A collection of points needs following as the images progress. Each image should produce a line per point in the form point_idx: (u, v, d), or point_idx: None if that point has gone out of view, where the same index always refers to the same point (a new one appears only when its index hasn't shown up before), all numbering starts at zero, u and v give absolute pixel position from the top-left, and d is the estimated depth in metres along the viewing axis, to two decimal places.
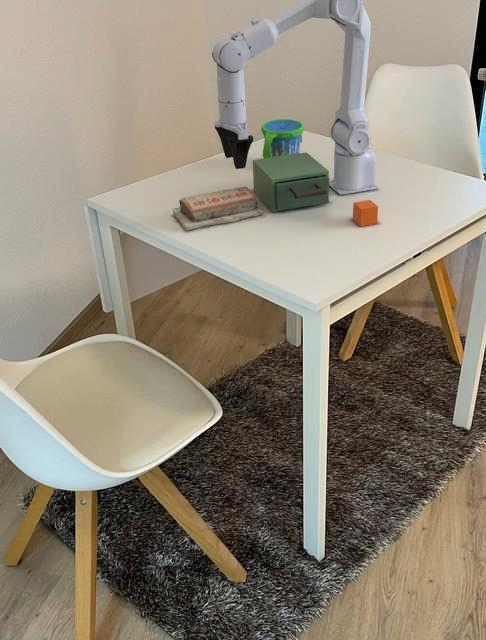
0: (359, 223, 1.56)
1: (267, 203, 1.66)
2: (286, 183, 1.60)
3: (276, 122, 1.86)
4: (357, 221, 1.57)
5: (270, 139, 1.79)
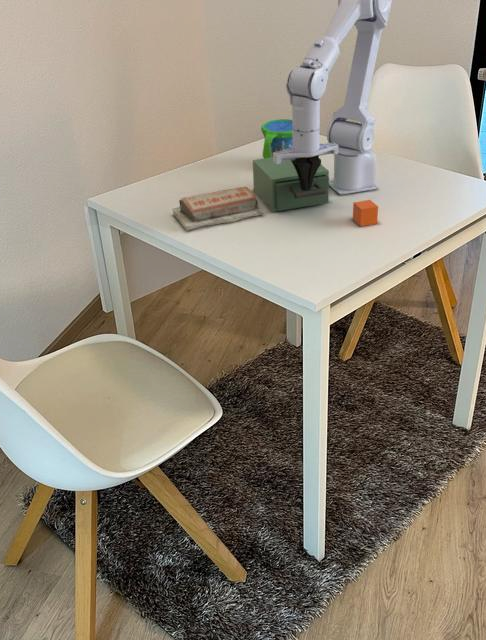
0: (359, 223, 1.56)
1: (267, 203, 1.66)
2: (286, 183, 1.60)
3: (276, 122, 1.86)
4: (357, 221, 1.57)
5: (270, 139, 1.79)
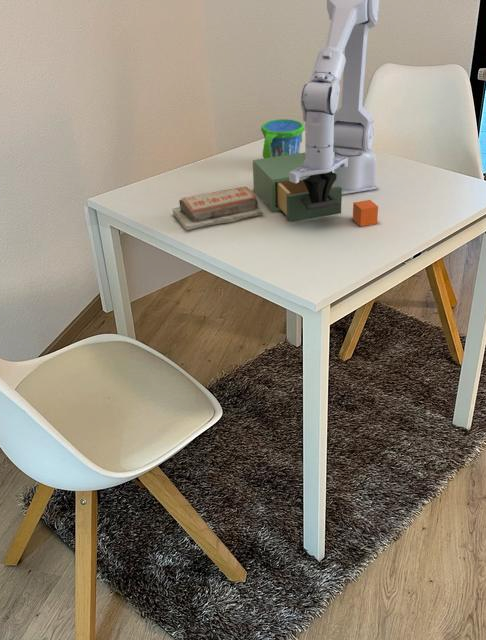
0: (359, 223, 1.56)
1: (267, 203, 1.66)
2: (297, 194, 1.54)
3: (276, 122, 1.86)
4: (357, 221, 1.57)
5: (270, 139, 1.79)
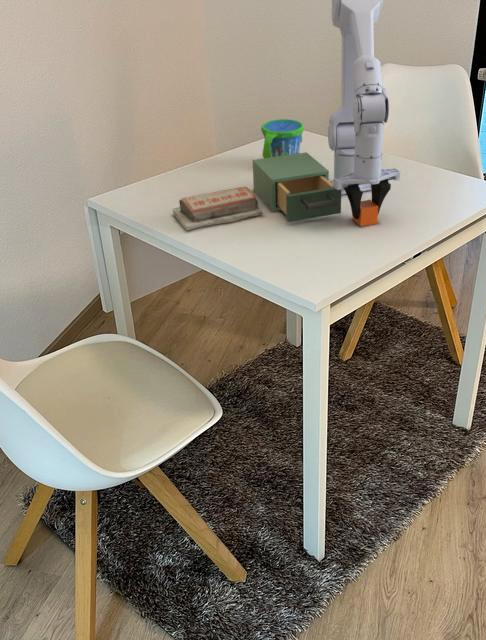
0: (359, 223, 1.56)
1: (267, 203, 1.66)
2: (297, 194, 1.54)
3: (276, 122, 1.86)
4: (357, 221, 1.57)
5: (270, 139, 1.79)
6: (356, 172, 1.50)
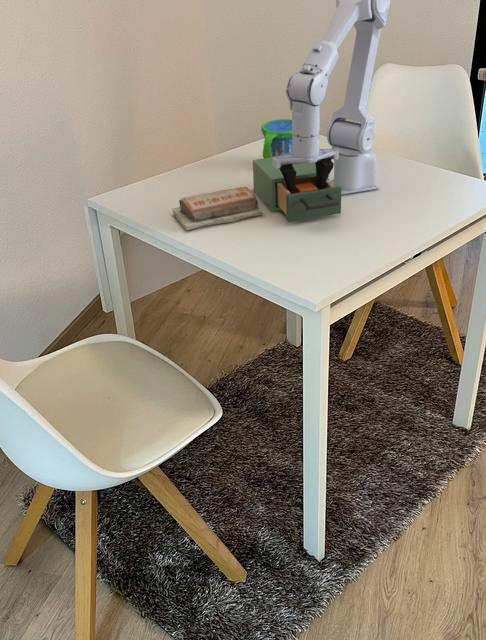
0: None
1: (267, 203, 1.66)
2: (297, 194, 1.54)
3: (276, 122, 1.86)
4: None
5: (270, 139, 1.79)
6: (294, 151, 1.54)
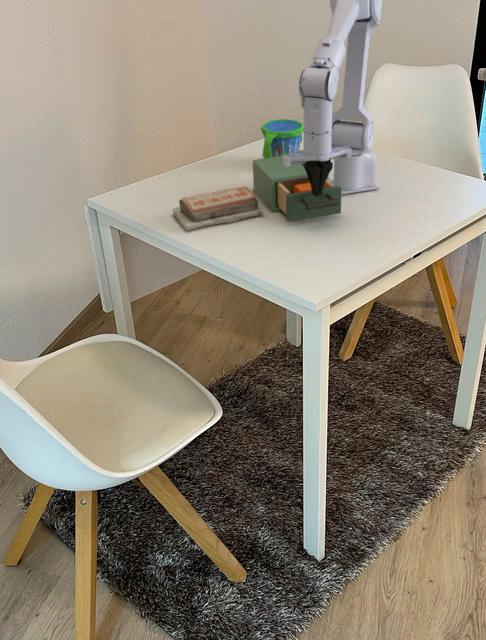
0: None
1: (267, 203, 1.66)
2: (297, 194, 1.54)
3: (276, 122, 1.86)
4: None
5: (270, 139, 1.79)
6: (306, 149, 1.47)
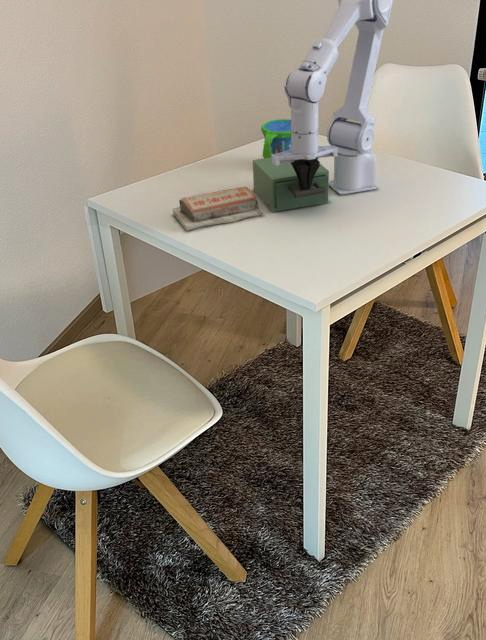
0: None
1: (267, 203, 1.66)
2: (285, 182, 1.60)
3: (276, 122, 1.86)
4: None
5: (270, 139, 1.79)
6: (293, 148, 1.54)
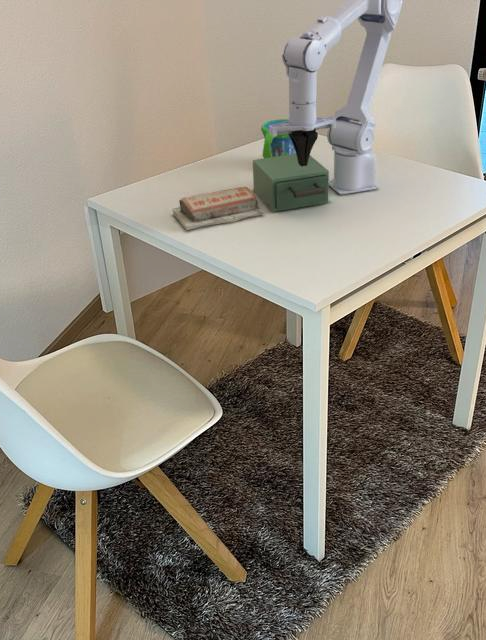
0: None
1: (267, 203, 1.66)
2: (285, 182, 1.60)
3: (276, 122, 1.86)
4: None
5: (270, 139, 1.79)
6: (291, 119, 1.51)
